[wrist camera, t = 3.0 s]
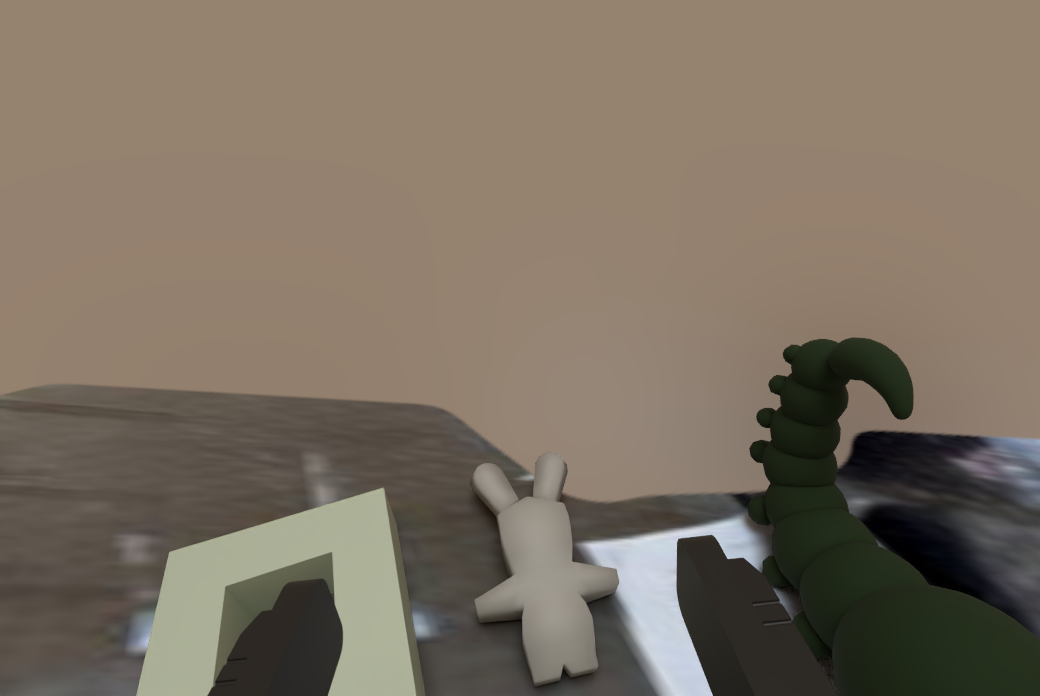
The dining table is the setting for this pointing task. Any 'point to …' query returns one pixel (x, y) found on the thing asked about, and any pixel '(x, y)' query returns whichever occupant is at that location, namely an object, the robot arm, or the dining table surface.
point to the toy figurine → (868, 551)
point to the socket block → (258, 582)
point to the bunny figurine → (542, 573)
